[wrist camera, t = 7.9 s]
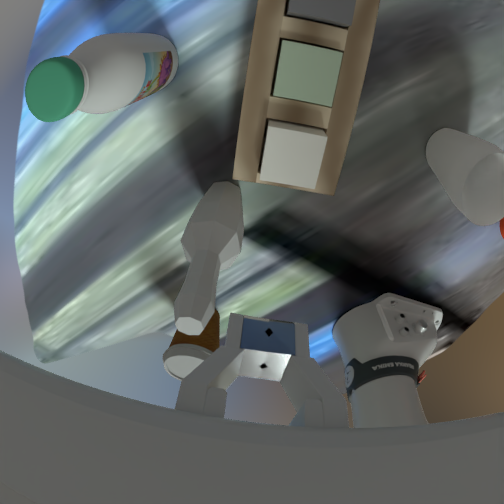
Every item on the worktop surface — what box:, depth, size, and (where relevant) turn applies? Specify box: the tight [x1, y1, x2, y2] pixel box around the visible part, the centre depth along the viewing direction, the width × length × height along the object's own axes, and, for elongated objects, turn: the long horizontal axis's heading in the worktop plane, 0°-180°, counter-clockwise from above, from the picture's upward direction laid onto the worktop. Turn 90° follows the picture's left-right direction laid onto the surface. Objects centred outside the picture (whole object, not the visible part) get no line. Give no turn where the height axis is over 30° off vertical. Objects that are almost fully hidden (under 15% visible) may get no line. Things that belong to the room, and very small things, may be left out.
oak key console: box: [233, 0, 380, 196], centre depth 30 cm, size 12×27×4 cm, turn 172°
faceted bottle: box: [174, 181, 244, 335], centre depth 33 cm, size 6×6×22 cm
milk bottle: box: [25, 33, 178, 122], centre depth 23 cm, size 8×8×20 cm
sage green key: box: [273, 40, 343, 107], centre depth 29 cm, size 6×6×4 cm
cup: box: [426, 128, 504, 226], centre depth 30 cm, size 9×9×12 cm
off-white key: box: [260, 118, 328, 189], centre depth 33 cm, size 6×6×4 cm
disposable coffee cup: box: [163, 309, 220, 381], centre depth 51 cm, size 10×10×12 cm
